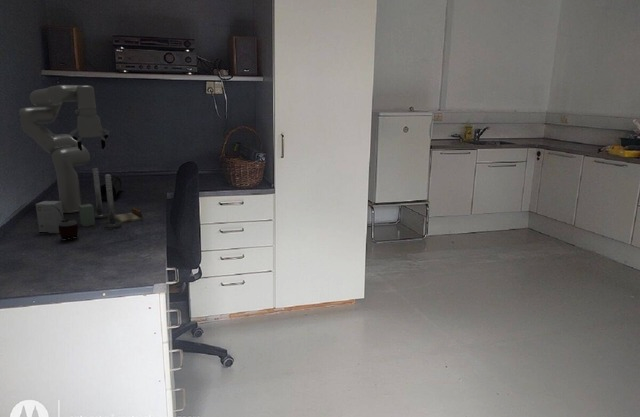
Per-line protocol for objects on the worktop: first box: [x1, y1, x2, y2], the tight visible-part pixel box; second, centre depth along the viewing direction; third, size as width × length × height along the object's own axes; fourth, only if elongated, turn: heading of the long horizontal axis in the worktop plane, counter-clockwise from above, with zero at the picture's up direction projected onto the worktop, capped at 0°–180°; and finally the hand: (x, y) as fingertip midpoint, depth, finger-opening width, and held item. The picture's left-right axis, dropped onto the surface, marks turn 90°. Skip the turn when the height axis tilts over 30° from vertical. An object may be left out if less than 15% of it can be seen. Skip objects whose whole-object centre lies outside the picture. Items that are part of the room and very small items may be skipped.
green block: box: [78, 203, 96, 227], centre depth 220 cm, size 5×5×9 cm
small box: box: [35, 200, 65, 234], centre depth 208 cm, size 8×6×13 cm
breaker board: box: [115, 207, 144, 224], centre depth 231 cm, size 10×12×4 cm
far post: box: [92, 167, 109, 220], centre depth 230 cm, size 7×7×24 cm
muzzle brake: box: [100, 174, 123, 201], centre depth 276 cm, size 10×28×10 cm, turn 16°
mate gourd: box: [51, 204, 79, 240], centre depth 198 cm, size 8×8×15 cm
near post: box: [103, 173, 122, 229], centre depth 215 cm, size 7×7×24 cm
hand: (92, 149), depth 228 cm, fingers open, 9 cm apart
